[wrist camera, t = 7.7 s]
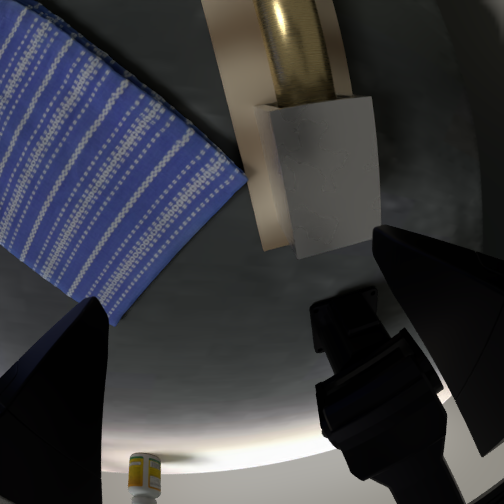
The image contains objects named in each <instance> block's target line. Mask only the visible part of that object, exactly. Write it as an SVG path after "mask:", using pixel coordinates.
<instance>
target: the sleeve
mask: <svg viewBox="0 0 504 504" xmlns="http://www.w3.org/2000/svg"><path fill="white" fill-rule="evenodd" d="M336 98H337V99H334V100H326V101H319V102H313V103H306V104H300V105H294V106H289V107H283V108H278V104H277V101H276V102H271V103H266V104H261V105H256V106H253V109H254V113H255V117H256V122H257V126H258V130H259V135H260V139H261V144H262V148H263V153H264V157H265V162H266V167H267V171H268V176H269V181H270V185H271V190H272V195H273V200H274V205H275V210H276V215H277V219H278V223H279V225H280V227H281V229H282V230H283V232H284V234H285V236H286V238H287V240H288V242H289V244H290V246H291V248H292V250H293V252H294V254H295V256H296V258H297V260H299V259H302V258H306V257H310V256H313V255H317V254H320V253H324V252H328V251H331V250H335V249H338V248H342V247H345V246H349V245H353V244H356V243H360V242H363V241H367V240H370V239H372V232H373V228H374V227H376V226H380V225H381V200H380V177H379V161H378V149H377V138H376V128H375V119H374V111H373V104H372V96H364V95H354V94H343V93H336Z"/></svg>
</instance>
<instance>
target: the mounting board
mask: <svg viewBox="0 0 504 504" xmlns="http://www.w3.org/2000/svg"><path fill="white" fill-rule="evenodd" d="M201 2H202V6H203V10H204V14H205V17H206V21H207V25H208V29H209V33H210V37H211V40H212V44H213V48H214V52H215V56H216V60H217V64H218V68H219V72H220V75H221V79H222V83H223V87H224V91H225V95H226V99H227V103H228V107H229V111H230V115H231V119H232V123H233V127H234V131H235V135H236V139H237V143H238V147H239V152H240V156H241V160H242V164H243V168H244V172H245V175H246V176H247V178H248V181H247V184H248V188H249V193H250V197H251V201H252V205H253V209H254V213H255V218H256V222H257V226H258V230H259V234H260V239H261V243H262V247H263V250H264V251H267V250H271V249H274V248H278V247H282V246H286V245H289V242H288V240H287V238H286V236H285V234H284V232H283V230H282V229H281V227H280V225H279V223H278V219H277V215H276V210H275V205H274V200H273V195H272V190H271V185H270V181H269V176H268V171H267V167H266V162H265V157H264V153H263V148H262V144H261V139H260V135H259V130H258V126H257V122H256V117H255V113H254V109H253V106H256V105H261V104H266V103H271V102H276V101H277V99H276V95H275V90H274V86H273V81H272V77H271V73H270V68H269V64H268V60H267V56H266V51H265V47H264V43H263V39H262V35H261V31H260V28H259V24H258V20H257V16H256V12H255V9H254V5H253V1H252V0H201ZM315 3H316V7H317V10H318V14H319V18H320V22H321V26H322V30H323V34H324V39H325V43H326V47H327V52H328V57H329V61H330V66H331V71H332V76H333V82H334V87H335V93H343V94H353V93H352V87H351V82H350V76H349V70H348V65H347V60H346V55H345V50H344V46H343V41H342V37H341V32H340V28H339V24H338V20H337V16H336V12H335V8H334V5H333V1H332V0H315Z"/></svg>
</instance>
